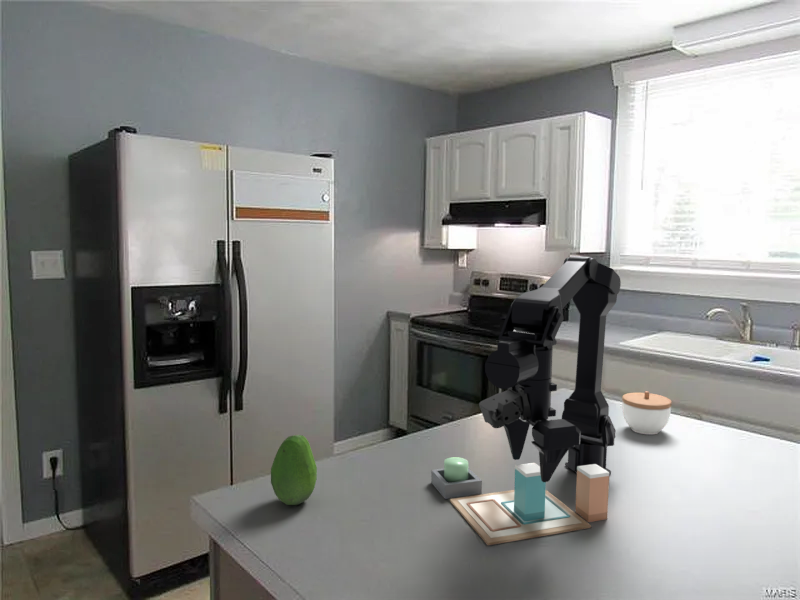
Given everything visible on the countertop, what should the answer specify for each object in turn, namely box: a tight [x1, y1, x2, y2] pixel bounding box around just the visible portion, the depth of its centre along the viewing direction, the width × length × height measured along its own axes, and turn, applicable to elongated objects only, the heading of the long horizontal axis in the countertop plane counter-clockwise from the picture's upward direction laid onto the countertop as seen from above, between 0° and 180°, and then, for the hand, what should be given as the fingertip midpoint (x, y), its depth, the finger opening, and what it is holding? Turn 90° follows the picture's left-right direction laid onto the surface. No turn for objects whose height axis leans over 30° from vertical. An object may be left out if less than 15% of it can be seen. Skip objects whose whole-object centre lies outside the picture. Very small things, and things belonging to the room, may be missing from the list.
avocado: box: [270, 434, 318, 506], centre depth 100 cm, size 8×8×12 cm
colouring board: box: [449, 489, 592, 546], centre depth 97 cm, size 18×15×1 cm
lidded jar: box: [621, 390, 673, 436], centre depth 137 cm, size 11×11×9 cm
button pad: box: [430, 467, 483, 500], centre depth 106 cm, size 7×7×2 cm
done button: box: [443, 456, 469, 483], centre depth 106 cm, size 4×4×3 cm
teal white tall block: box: [513, 462, 547, 521], centre depth 95 cm, size 4×4×8 cm
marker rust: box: [574, 464, 610, 523], centre depth 96 cm, size 4×4×8 cm
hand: (530, 469), depth 94 cm, fingers open, 9 cm apart
